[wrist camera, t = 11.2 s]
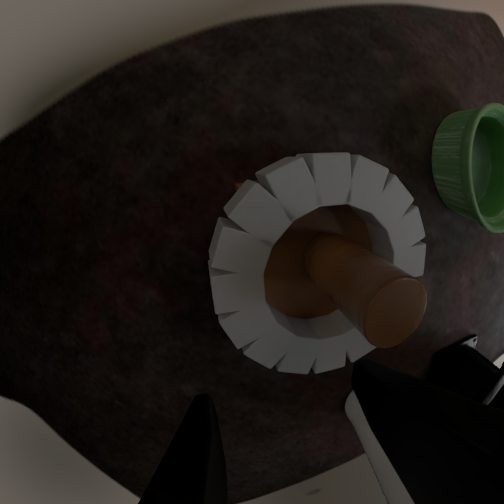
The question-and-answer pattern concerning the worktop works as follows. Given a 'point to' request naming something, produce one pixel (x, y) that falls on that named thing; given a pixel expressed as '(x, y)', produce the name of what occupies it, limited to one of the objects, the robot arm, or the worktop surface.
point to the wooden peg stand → (342, 277)
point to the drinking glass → (376, 455)
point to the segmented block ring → (271, 229)
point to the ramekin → (472, 164)
